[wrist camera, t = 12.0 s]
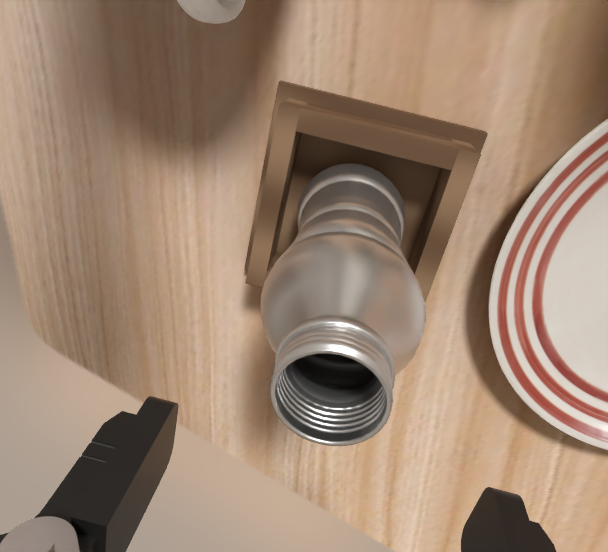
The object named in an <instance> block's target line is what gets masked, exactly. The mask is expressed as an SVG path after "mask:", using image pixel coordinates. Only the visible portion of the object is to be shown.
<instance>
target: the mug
mask: <svg viewBox="0 0 608 552" xmlns="http://www.w3.org/2000/svg"><path fill="white" fill-rule="evenodd" d="M245 1H246V0H177V2H178V3H179V5H180V6H181V7H182V9H183V10H184V11H185V12H186V13H187V14H188V15H189V16H191V17H192V18H194V19H196V20H198V21H201V22H205V23H211V24H221V23H227V22H229V21H232V20H233V19H235V18H236V17H237V16H238V15H239V14H240V12H241V11H242V9H243V7H244V4H245Z"/></svg>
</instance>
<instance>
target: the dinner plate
mask: <svg viewBox="0 0 608 552" xmlns="http://www.w3.org/2000/svg"><path fill="white" fill-rule="evenodd" d="M488 310H489V328H490V334H491V339H492V344H493V348H494V351H495V354H496V358H497V360H498V363H499V365H500V367H501V369H502V371H503V373H504V375H505V377H506V378H507V380H508V382H509V383H510V385H511V386H512V388H513V389H514V390H515V392H516V393H517V394H518V395H519V397H520V398H521V399H522V400H523V401H524V403H525V404H526V405H527V406H528V407H529V408H530V409H531V410H533V411H534V412H535V413H536V414H537V415H539V416H540V417H541V418H542V419H544V420H545V421H546V422H548V423H549V424H551V425H552V426H554V427H555V428H557V429H559V430H560V431H562V432H563V433H565V434H567V435H569V436H571V437H574V438H576V439H578V440H580V441H582V442H585V443H587V444H590V445H593V446H596V447H599V448H602V449H605V450H608V119H606V120H605V121H604V122H602V123H601V124H599V125H598V126H597V127H596V128H594V129H593V130H592V131H591V132H589V133H588V134H587V135H586V136H585V137H583V138H582V139H581V140H580V141H579V142H577V143H576V144H575V145H574V146H573V147H572V148H571V149H570V150H569V151H568V152H567V153H566V154H565V155H564V156H563V157H562V158H561V159H560V160H559V161H558V162H557V163H556V164H555V165H554V166H553V167H552V168H551V169H550V170H549V172H548V173H547V174H546V175H545V176H544V177H543V179H542V180H541V181H540V182H539V184H538V185H537V186H536V187H535V189H534V190H533V192H532V193H531V194H530V196H529V197H528V199H527V200H526V202H525V203H524V204H523V206H522V207H521V209H520V211H519V213H518V214H517V216H516V218H515V220H514V221H513V223H512V225H511V227H510V228H509V231H508V233H507V235H506V237H505V239H504V242H503V244H502V246H501V249H500V252H499V255H498V258H497V261H496V264H495V267H494V271H493V276H492V280H491V286H490V292H489V305H488Z"/></svg>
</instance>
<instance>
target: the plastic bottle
mask: <svg viewBox="0 0 608 552" xmlns="http://www.w3.org/2000/svg"><path fill="white" fill-rule="evenodd" d="M405 222H406V213H405V206H404V203H403V199H402V197H401V195H400V193H399V191H398V190H397V188H396V187H395V186H394V184H393V183H392V182H391V181H390V180H389V179H388V178H386V177H385V176H384V175H383V174H382V173H381V172H379V171H377V170H375V169H374V168H372V167H369V166H366V165H363V164H358V163H342V164H338V165H334V166H332V167H330V168H328V169H326V170H324V171H322V172H320V173H319V174H317V175H316V176H315V177H314V178H312V179H311V181H310V182H309V183H308V184H307V185H306V187H305V188H304V190H303V192H302V194H301V196H300V200H299V203H298V213H297V223H298V235H297V237H296V239H295V240H294V242H293V243H292V244H291V245H290V246H289V248H288V249H287V250H286V251H285V252H284V253H283V254H282V255H281V256H280V258H279V259H278V260H277V261H276V263H275V264H274V266H273V268H272V269H271V271H270V273H269V275H268V276H267V278H266V280H265V282H264V286H263V290H262V293H261V315H262V321H263V326H264V331H265V335H266V337H267V340H268V342H269V345H270V347H271V348H272V350H273V351H274V353H275V354H276V357H275V367H274V369H275V370H274V372H273V376H272V379H271V387H270V397H271V402H272V405H273V408H274V410H275V412H276V414H277V416H278V417H279V418H280V420H281V421H282V422H283V423H284V424H285V425H286V426H287V427H288V428H289V429H290V430H291V431H293V432H294V433H296V434H297V435H298V436H300V437H303V438H305V439H307V440H309V441H312V442H315V443H318V444H322V445H328V446H347V445H354V444H357V443H360V442H363V441H365V440H367V439H369V438H371V437H373V436H374V435H375V434H376V433H378V432H379V431H380V430H381V429H382V428H383V426H384V425H385V424H386V422H387V420H388V418H389V416H390V412H391V408H392V402H393V397H392V389H393V386H394V381H395V376H396V375H397V374H398V373H399V372H400V371H402V370H403V369H404V368H405V367H406V366H407V365H408V363H409V362H410V361H411V359H412V358H413V357H414V355H415V352H416V350H417V348H418V346H419V343H420V341H421V338H422V336H423V332H424V327H425V322H426V307H425V302H424V298H423V295H422V291H421V289H420V286H419V283H418V281H417V279H416V277H415V275H414V273H413V271H412V269H411V268H410V266H409V264H408V263H407V261H406V259H405V257H404V256H403V253H402V250H401V247H400V246H401V240H402V238H403V234H404V228H405Z"/></svg>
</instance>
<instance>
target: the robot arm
mask: <svg viewBox="0 0 608 552" xmlns="http://www.w3.org/2000/svg"><path fill="white" fill-rule="evenodd" d="M177 414H178V403H174V402H170V401H167V400H163V399H159V398H155V397H151V396H149V397H148V398H147V399H146V401H145V402H144V404H143V405H142V407H141V408H140V410H139V411H138V413H137V415H135V414H131V413H127V412H124V411H122V412H120V413H119V414H117V415H116V416H114V417H113V418H111V419H110V420H108V421H107V422H105V423H104V424H103V425H102V427H101V428H100V430H99V431H98V432H97V434H96V435H95V437H94V438H93V439H92V442H91V443H90V444H89V445H88V446H87V448H86V449H85V451H84V452H83V454H82V456H81V457H80V458H79V459H78V460H77V462H76V463H75V465H74V466H73V467H72V469H71V470H70V472H69V473H68V475H67V476H66V477H65V479H64V480H63V481H62V483H61V484H60V486H59V487H58V488H57V490H56V491H55V493H54V494H53V496H52V497H51V498H50V500H49V501H48V503H47V504H46V505H45V507H44V508H43V509H42V511H41V512H40V513H39V514H38V515H37V516H36V517H35V518H34V519H31V520H28V521H26V522H24V523H22V524H20V525H19V526H17V527H15V528H14V529H13V530H12V531H10V532H9V533H6V534H3V535H0V552H126V550H127V548H128V546H129V544H130V542H131V540H132V537H133V535H134V533H135V531H136V529H137V527H138V525H139V523H140V521H141V519H142V517H143V515H144V513H145V511H146V509H147V507H148V505H149V503H150V501H151V499H152V497H153V495H154V493H155V491H156V489H157V487H158V485H159V483H160V480H161V478H162V476H163V474H164V472H165V470H166V468H167V465H168V463H169V460H170V457H171V453H172V449H173V444H174V436H175V429H176V421H177ZM461 552H556V550H555V547H554V544H553V543H552V542H551V540H550V539H549V537H548V536H547V534H546V533H545V532H544V530H543V529H542V527H541V526H540V524H539V523H536V522H532V521H529V518H528V515H527V512H526V509H525V506H524V502H523V500H522V498H521V497H520V496H519V495H517V494H513V493H509V492H506V491H502V490H498V489H494V488H490V487H487V488H486V489H485V490H484V491H483V493H482V495H481V497H480V498H479V500H478V502H477V504H476V506H475V507H474V509H473V511H472V513H471V515H470V516H469V518H468V520H467V522H466V524H465V526H464V529H463V532H462V538H461Z"/></svg>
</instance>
